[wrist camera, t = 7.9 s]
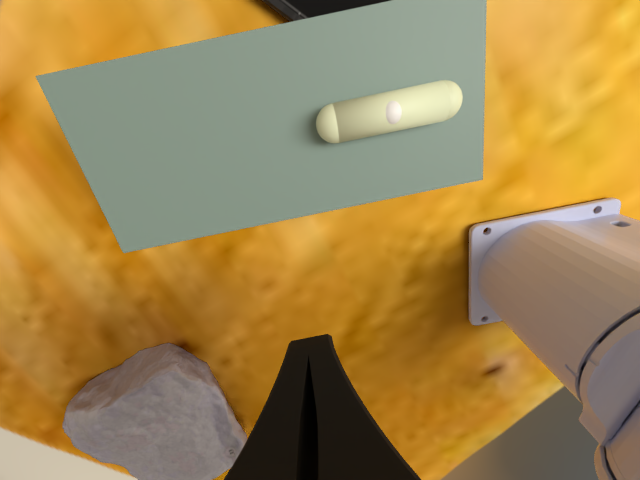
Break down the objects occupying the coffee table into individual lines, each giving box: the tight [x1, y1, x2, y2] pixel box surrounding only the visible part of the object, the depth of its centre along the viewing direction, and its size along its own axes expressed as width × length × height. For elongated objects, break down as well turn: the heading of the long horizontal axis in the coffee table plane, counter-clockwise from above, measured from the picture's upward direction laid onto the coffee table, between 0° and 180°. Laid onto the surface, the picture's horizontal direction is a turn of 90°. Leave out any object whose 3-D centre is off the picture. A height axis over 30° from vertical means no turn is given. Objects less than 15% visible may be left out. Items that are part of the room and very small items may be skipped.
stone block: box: [63, 343, 247, 480], centre depth 24 cm, size 12×5×10 cm
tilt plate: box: [36, 0, 486, 253], centre depth 12 cm, size 16×7×3 cm, turn 101°
